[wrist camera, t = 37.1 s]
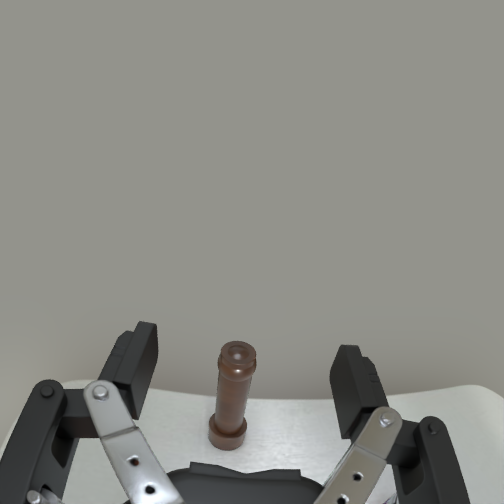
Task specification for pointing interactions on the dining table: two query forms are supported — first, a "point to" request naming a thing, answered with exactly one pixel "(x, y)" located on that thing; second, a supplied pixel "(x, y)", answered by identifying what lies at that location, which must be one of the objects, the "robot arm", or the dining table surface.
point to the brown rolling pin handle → (232, 395)
